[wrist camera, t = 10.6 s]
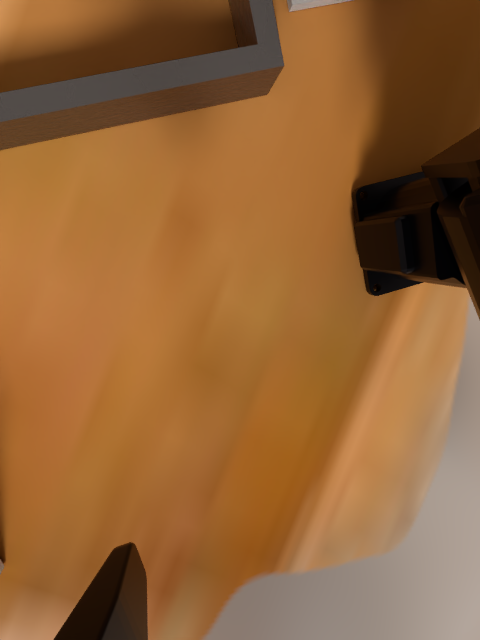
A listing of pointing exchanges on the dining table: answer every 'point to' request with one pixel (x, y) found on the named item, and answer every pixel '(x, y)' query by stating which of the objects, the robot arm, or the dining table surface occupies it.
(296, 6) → the mat
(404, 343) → the dining table surface
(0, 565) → the supplement box
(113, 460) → the dining table surface
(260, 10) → the rack
